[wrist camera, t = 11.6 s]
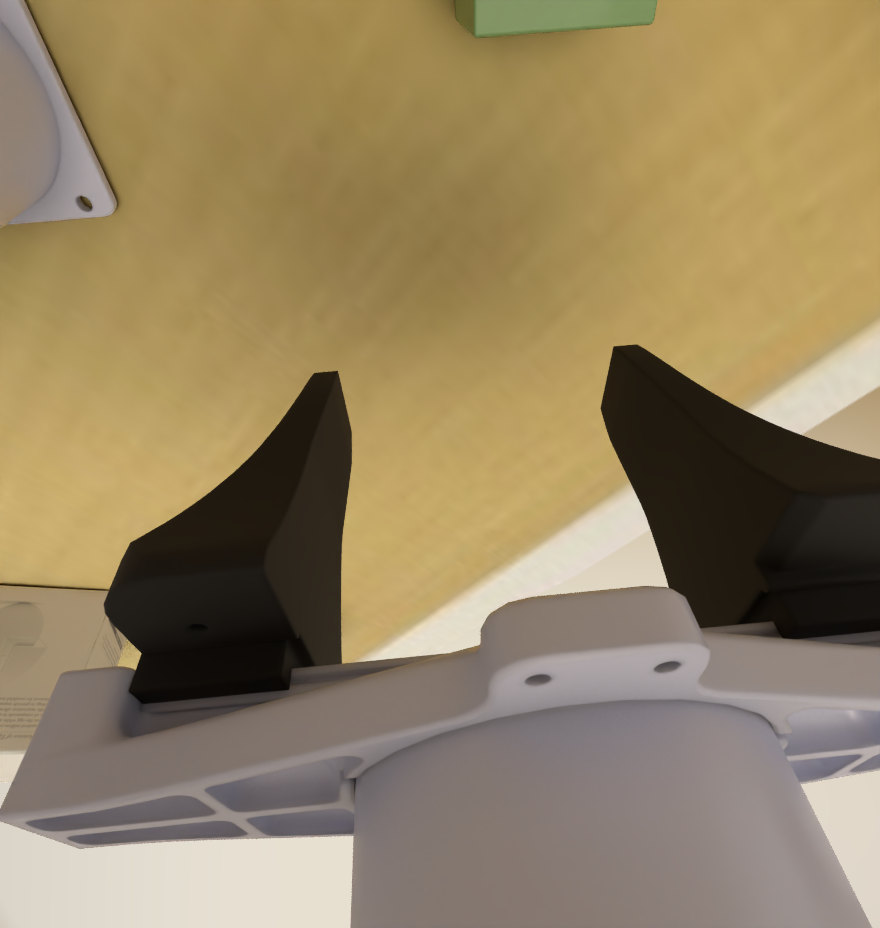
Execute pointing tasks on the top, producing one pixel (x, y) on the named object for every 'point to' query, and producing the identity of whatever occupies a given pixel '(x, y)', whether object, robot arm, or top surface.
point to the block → (550, 15)
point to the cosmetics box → (45, 655)
